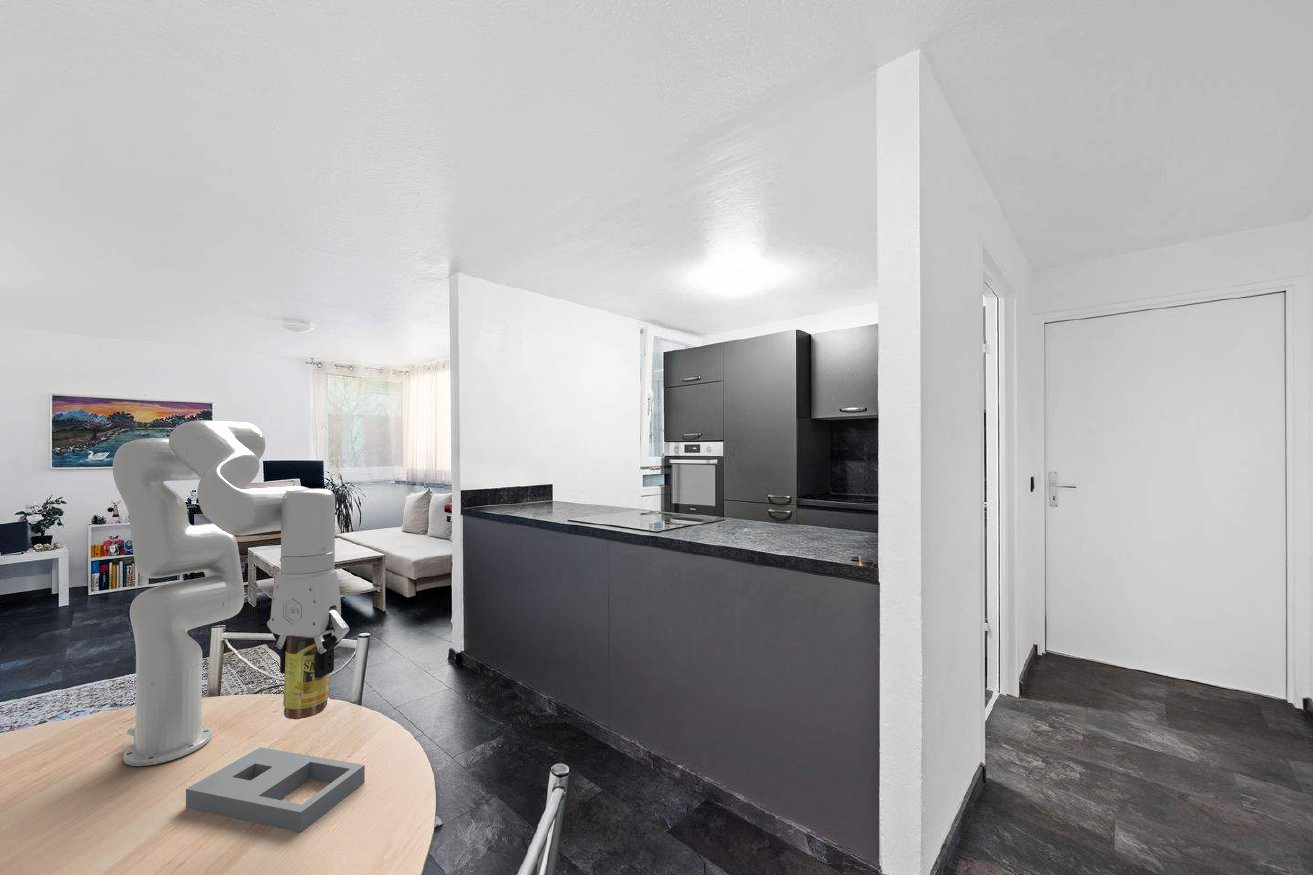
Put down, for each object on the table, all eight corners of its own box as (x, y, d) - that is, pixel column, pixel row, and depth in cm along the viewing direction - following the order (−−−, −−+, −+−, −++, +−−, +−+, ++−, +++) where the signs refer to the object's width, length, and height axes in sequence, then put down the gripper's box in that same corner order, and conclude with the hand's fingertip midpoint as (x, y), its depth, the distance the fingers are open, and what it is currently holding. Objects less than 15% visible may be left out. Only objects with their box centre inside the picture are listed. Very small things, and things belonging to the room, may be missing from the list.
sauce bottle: (306, 723, 85) (308, 597, 86) (273, 719, 87) (275, 595, 87) (338, 704, 92) (339, 587, 92) (307, 700, 93) (308, 585, 93)
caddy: (185, 807, 87) (185, 788, 87) (259, 763, 99) (260, 747, 99) (300, 832, 81) (300, 812, 81) (364, 782, 93) (364, 764, 94)
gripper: (245, 565, 88) (243, 676, 88) (332, 571, 84) (331, 688, 83) (287, 556, 95) (285, 658, 95) (369, 561, 91) (368, 668, 91)
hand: (307, 671), depth 89 cm, fingers closed on sauce bottle, 6 cm apart
